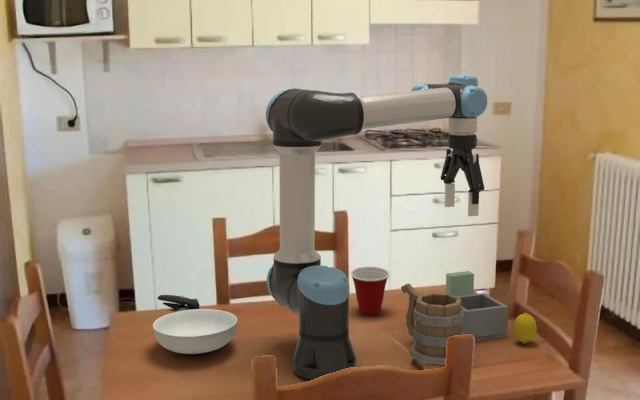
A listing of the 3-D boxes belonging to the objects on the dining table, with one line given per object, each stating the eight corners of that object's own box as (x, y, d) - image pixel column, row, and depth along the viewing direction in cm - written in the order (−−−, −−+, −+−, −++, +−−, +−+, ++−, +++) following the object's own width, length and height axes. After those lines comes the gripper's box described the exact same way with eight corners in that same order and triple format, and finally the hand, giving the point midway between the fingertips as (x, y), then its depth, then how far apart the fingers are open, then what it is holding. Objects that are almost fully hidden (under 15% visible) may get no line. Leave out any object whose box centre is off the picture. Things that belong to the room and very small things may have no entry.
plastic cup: (354, 320, 211) (353, 278, 209) (347, 308, 222) (347, 267, 220) (393, 318, 213) (393, 276, 210) (385, 306, 223) (385, 265, 221)
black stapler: (206, 317, 217) (205, 298, 215) (185, 323, 212) (184, 303, 211) (170, 303, 229) (169, 285, 228) (150, 309, 224) (149, 290, 223)
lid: (449, 321, 210) (449, 282, 208) (428, 307, 222) (428, 269, 220) (491, 316, 214) (492, 277, 212) (468, 302, 226) (469, 265, 224)
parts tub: (465, 342, 194) (465, 311, 193) (443, 326, 206) (443, 297, 204) (507, 336, 198) (508, 306, 196) (483, 321, 209) (484, 293, 208)
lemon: (520, 348, 190) (521, 317, 188) (509, 341, 195) (510, 310, 193) (540, 346, 191) (541, 315, 190) (528, 338, 196) (529, 308, 195)
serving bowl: (250, 336, 201) (249, 311, 200) (218, 367, 181) (217, 339, 180) (177, 329, 207) (175, 305, 205) (138, 359, 187) (136, 332, 186)
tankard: (475, 358, 184) (477, 297, 182) (433, 369, 178) (434, 307, 175) (424, 333, 201) (425, 277, 199) (383, 342, 195) (383, 285, 192)
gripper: (499, 137, 198) (496, 218, 202) (453, 128, 221) (452, 202, 225) (472, 138, 196) (471, 221, 200) (429, 130, 219) (428, 203, 223)
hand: (460, 211), depth 213 cm, fingers open, 13 cm apart
